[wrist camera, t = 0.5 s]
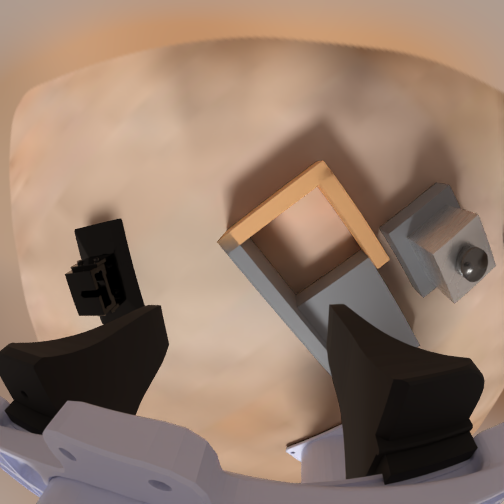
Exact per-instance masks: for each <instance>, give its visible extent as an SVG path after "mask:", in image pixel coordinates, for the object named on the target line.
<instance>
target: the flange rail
mask: <svg viewBox="0 0 504 504" xmlns="http://www.w3.org/2000/svg"><path fill="white" fill-rule="evenodd" d="M317 186H318V188H319V189H320V190H321V192H322V193H323V195H324V196H325V197H326V199H327V200H328V201H329V203H330V204H331V206H332V207H333V208H334V210H335V211H336V213H337V214H338V215H339V217H340V218H341V220H342V221H343V223H344V224H345V225H346V227H347V228H348V230H349V231H350V233H351V234H352V236H353V237H354V239H355V240H356V242H357V243H358V245H359V246H360V248H361V250H360V251H358V252H357V253H355V254H354V255H353V256H351V257H350V258H349V259H347V260H346V261H344V262H343V263H342V264H340V265H339V266H337V267H336V268H335V269H333V270H332V271H330V272H329V273H328V274H326V275H325V276H323V277H322V278H320V279H319V280H318V281H316V282H315V283H313V284H312V285H310V286H309V287H307V288H306V289H304V290H303V291H302V292H300V293H299V294H297V295H295V293H294V292H293V291H292V290H291V288H290V287H289V286H288V285H287V284H286V282H285V281H284V280H283V279H282V277H281V276H280V275H279V274H278V272H277V271H276V270H275V269H274V267H273V266H272V265H271V264H270V262H269V261H268V260H267V259H266V257H265V256H264V255H263V254H262V252H261V251H260V250H259V249H258V247H257V246H256V245H255V244H254V243H253V241H252V240H251V239H250V237H251V236H252V235H254V234H255V233H256V232H257V231H259V230H260V229H261V228H263V227H264V226H265V225H267V224H268V223H269V222H271V221H272V220H273V219H275V218H276V217H277V216H279V215H280V214H281V213H283V212H284V211H285V210H287V209H288V208H289V207H290V206H292V205H293V204H294V203H296V202H297V201H298V200H300V199H301V198H302V197H304V196H305V195H306V194H308V193H309V192H310V191H312V190H313V189H314V188H316V187H317ZM217 243H218V244H219V245H220V246H221V247H222V249H223V250H224V251H225V252H226V253H227V255H228V256H229V257H230V258H231V259H232V261H233V262H234V263H235V264H236V265H237V267H238V268H239V269H240V270H241V271H242V273H243V274H244V275H245V276H246V277H247V279H248V280H249V281H250V282H251V283H252V285H253V286H254V287H255V288H256V289H257V291H258V292H259V293H260V294H261V295H262V296H263V298H264V299H265V300H266V301H267V302H268V304H269V305H270V306H271V307H272V308H273V309H274V311H275V312H276V313H277V314H278V315H279V316H280V318H281V319H282V320H283V321H284V322H285V323H286V325H287V326H288V327H289V328H290V329H291V330H292V332H293V333H294V334H295V335H296V336H297V337H298V339H299V340H300V341H301V342H302V343H303V344H304V345H305V347H306V348H307V349H308V350H309V351H310V352H311V354H312V355H313V356H314V357H315V358H316V359H317V360H318V362H319V363H320V364H321V365H322V366H323V367H324V368H325V370H326V371H327V372H328V373H329V374H330V375H331V371H330V368H329V363H328V355H327V347H326V345H327V332H328V317H329V305H330V304H345V305H346V306H348V307H349V308H350V309H352V310H353V311H354V312H355V313H357V314H358V315H359V316H361V317H362V318H363V319H365V320H366V321H367V322H369V323H370V324H372V325H373V326H375V327H376V328H378V329H379V330H381V331H383V332H384V333H386V334H388V335H389V336H391V337H393V338H395V339H398V340H400V341H402V342H404V343H406V344H409V345H411V346H414V347H418V346H420V345H419V343H418V341H417V339H416V337H415V335H414V333H413V331H412V330H411V328H410V326H409V324H408V322H407V320H406V319H405V317H404V315H403V313H402V312H401V310H400V308H399V306H398V304H397V303H396V301H395V299H394V298H393V296H392V294H391V292H390V291H389V289H388V287H387V286H386V284H385V282H384V281H383V279H382V277H381V276H380V274H379V273H378V271H377V269H378V268H380V267H381V266H382V265H384V264H385V263H386V262H388V261H389V260H390V259H389V257H388V256H387V254H386V252H385V251H384V249H383V247H382V246H381V244H380V242H379V241H378V239H377V238H376V236H375V234H374V233H373V231H372V230H371V228H370V227H369V225H368V224H367V222H366V220H365V219H364V217H363V216H362V214H361V213H360V211H359V210H358V208H357V207H356V205H355V204H354V202H353V201H352V200H351V198H350V197H349V195H348V194H347V192H346V191H345V190H344V188H343V187H342V185H341V184H340V182H339V181H338V180H337V178H336V177H335V176H334V174H333V173H332V171H331V170H330V169H329V167H328V166H327V165H326V163H325V162H324V161H317V162H315V163H314V164H313V165H311V166H310V167H309V168H307V169H306V170H305V171H303V172H302V173H301V174H299V175H298V176H297V177H295V178H294V179H293V180H291V181H290V182H289V183H287V184H286V185H285V186H283V187H282V188H281V189H279V190H278V191H277V192H276V193H274V194H273V195H272V196H270V197H269V198H268V199H266V200H265V201H264V202H263V203H261V204H260V205H259V206H257V207H256V208H255V209H254V210H252V211H251V212H250V213H248V214H247V215H246V216H245V217H243V218H242V219H241V220H239V221H238V222H237V223H236V224H234V225H233V226H232V227H231V228H229V229H228V230H227V231H226V232H225V233H224V234H223V235H222V237H221V238H220V239H219V240H218V241H217ZM373 264H374V265H375V266H376V268H377V269H376V268H375V266H374V265H373ZM331 376H332V375H331Z"/></svg>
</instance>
